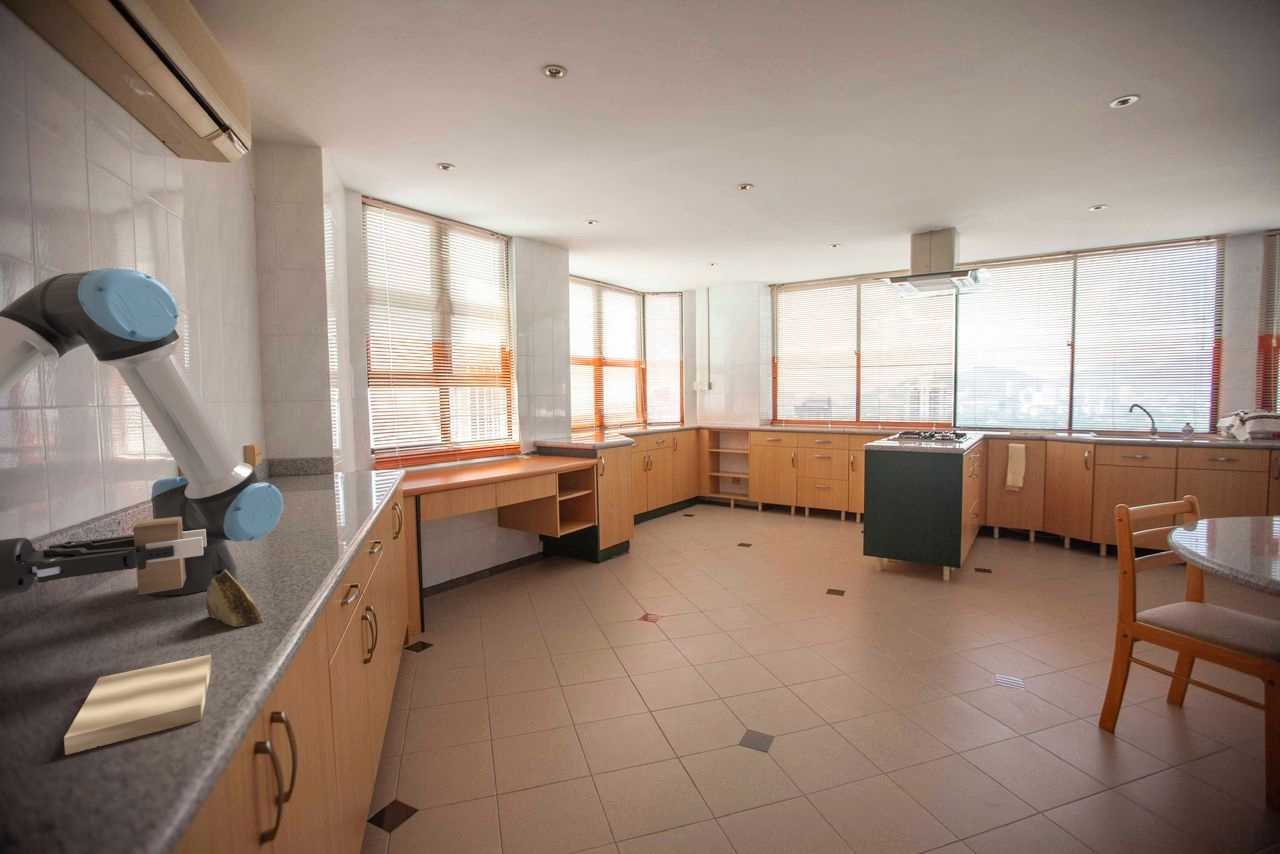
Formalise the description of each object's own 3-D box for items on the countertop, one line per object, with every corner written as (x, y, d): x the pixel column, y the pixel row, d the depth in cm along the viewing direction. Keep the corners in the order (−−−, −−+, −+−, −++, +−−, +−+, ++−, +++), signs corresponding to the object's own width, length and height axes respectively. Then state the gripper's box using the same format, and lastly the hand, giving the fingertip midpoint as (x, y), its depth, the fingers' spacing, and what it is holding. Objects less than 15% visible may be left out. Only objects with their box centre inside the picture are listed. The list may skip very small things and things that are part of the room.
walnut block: (144, 585, 87) (139, 520, 86) (186, 578, 90) (181, 516, 89) (138, 594, 83) (133, 527, 82) (182, 587, 86) (177, 522, 85)
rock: (188, 606, 101) (183, 616, 93) (222, 562, 104) (220, 568, 96) (249, 631, 106) (249, 643, 97) (279, 588, 109) (282, 596, 101)
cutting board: (100, 691, 76) (99, 677, 76) (211, 667, 83) (210, 654, 83) (65, 755, 63) (63, 737, 63) (201, 720, 70) (200, 704, 69)
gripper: (13, 578, 84) (210, 551, 97) (-41, 619, 69) (200, 581, 82) (9, 528, 83) (207, 508, 96) (-48, 558, 68) (196, 530, 81)
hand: (203, 541), depth 89 cm, fingers closed on walnut block, 5 cm apart
